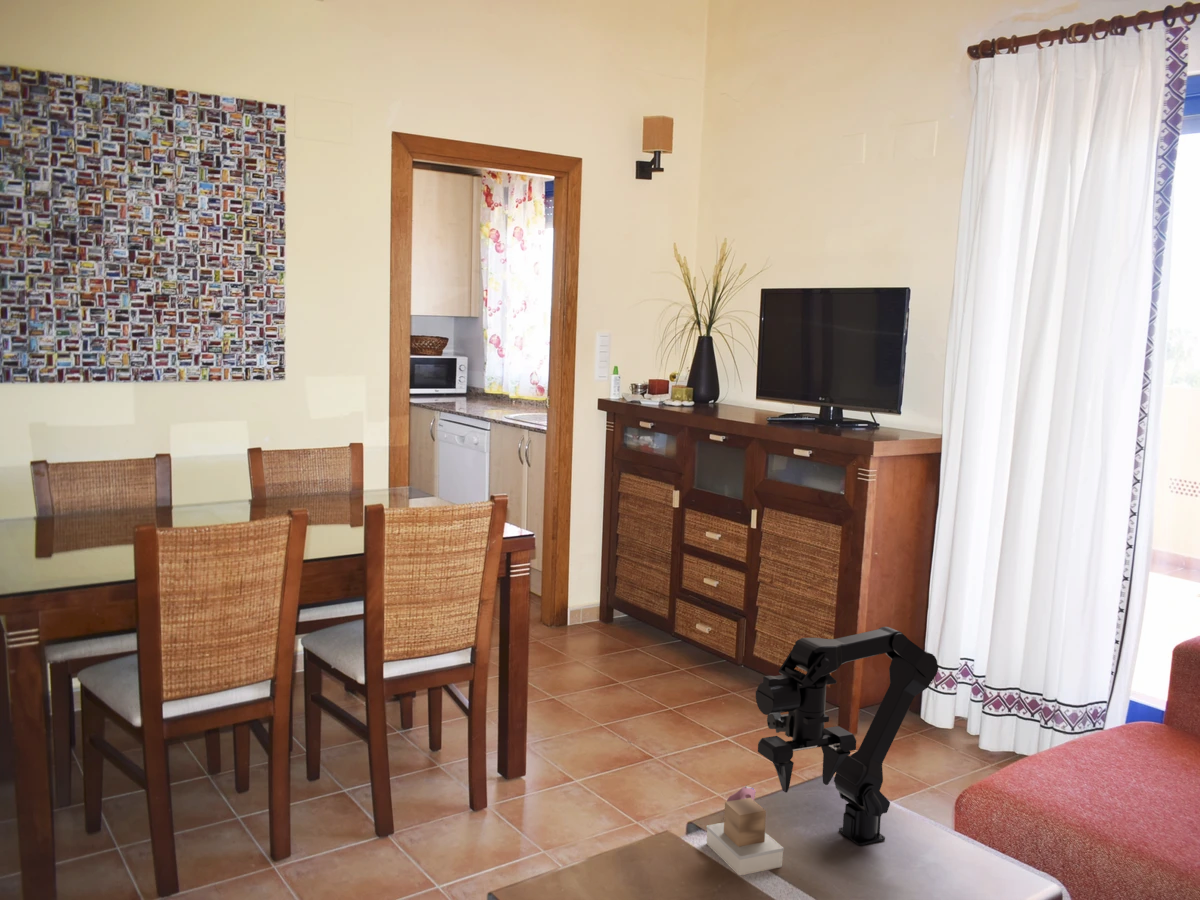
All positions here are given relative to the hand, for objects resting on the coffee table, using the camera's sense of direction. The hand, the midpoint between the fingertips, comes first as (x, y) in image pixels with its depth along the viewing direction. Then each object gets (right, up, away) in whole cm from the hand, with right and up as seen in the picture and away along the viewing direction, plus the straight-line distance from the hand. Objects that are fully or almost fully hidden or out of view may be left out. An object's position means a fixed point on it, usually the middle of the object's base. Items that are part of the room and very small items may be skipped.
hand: (805, 787), depth 180 cm
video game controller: (-10, -11, +13) cm, 20 cm away
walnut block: (-12, -8, -2) cm, 15 cm away
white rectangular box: (-12, -12, -2) cm, 17 cm away
